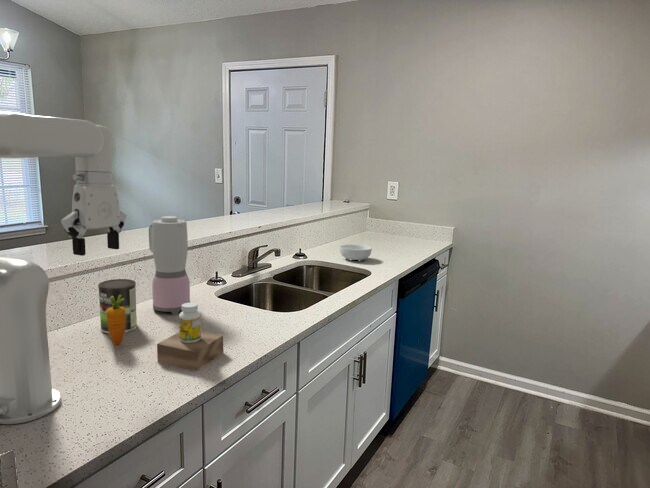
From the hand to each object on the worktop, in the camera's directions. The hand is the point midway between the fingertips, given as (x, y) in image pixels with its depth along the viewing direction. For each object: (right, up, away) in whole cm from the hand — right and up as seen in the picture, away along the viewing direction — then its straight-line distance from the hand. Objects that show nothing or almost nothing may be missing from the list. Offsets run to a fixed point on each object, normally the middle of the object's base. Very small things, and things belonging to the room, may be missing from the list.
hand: (97, 251), depth 108 cm
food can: (-8, -24, +30) cm, 40 cm away
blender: (0, -21, +49) cm, 53 cm away
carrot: (-3, -27, +17) cm, 32 cm away
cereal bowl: (+71, -7, +135) cm, 153 cm away
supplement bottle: (+19, -24, +11) cm, 32 cm away
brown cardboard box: (+19, -28, +12) cm, 36 cm away
